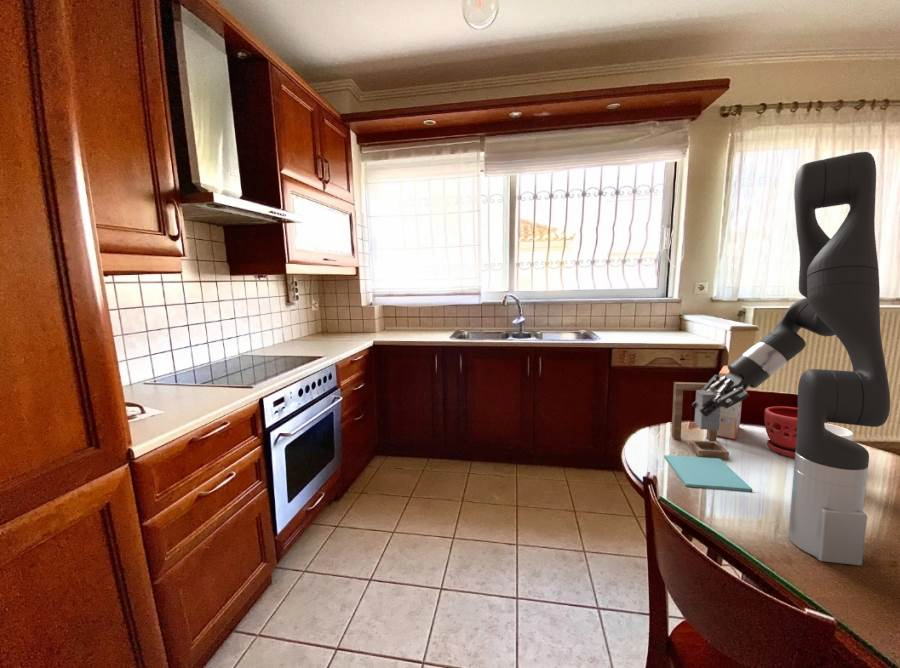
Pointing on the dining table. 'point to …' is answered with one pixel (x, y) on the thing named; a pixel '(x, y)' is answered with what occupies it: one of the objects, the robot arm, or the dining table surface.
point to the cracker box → (729, 416)
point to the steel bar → (711, 420)
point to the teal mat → (706, 473)
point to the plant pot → (782, 429)
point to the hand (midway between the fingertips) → (698, 410)
